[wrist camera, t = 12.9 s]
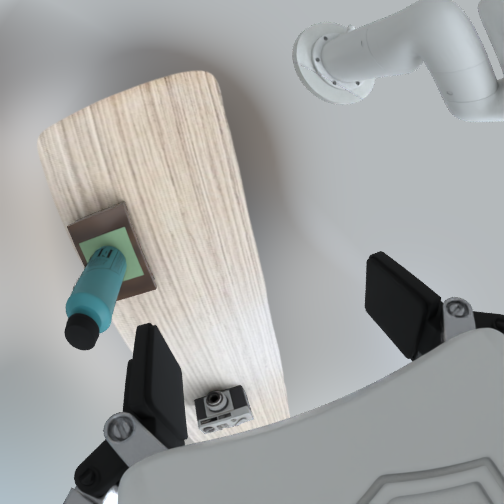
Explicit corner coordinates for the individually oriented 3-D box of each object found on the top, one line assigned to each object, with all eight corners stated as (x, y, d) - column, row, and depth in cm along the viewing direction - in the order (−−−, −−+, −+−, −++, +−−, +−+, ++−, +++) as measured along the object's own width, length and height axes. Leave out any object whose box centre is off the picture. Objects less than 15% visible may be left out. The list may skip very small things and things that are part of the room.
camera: (236, 377, 66) (245, 407, 57) (246, 392, 69) (255, 421, 61) (187, 392, 64) (191, 423, 56) (200, 407, 68) (205, 436, 59)
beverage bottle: (121, 235, 41) (87, 308, 23) (135, 271, 44) (116, 355, 26) (87, 246, 40) (42, 320, 22) (102, 280, 43) (72, 363, 25)
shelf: (73, 220, 41) (66, 226, 38) (127, 199, 42) (122, 204, 39) (107, 294, 48) (103, 305, 45) (157, 279, 49) (156, 289, 46)
